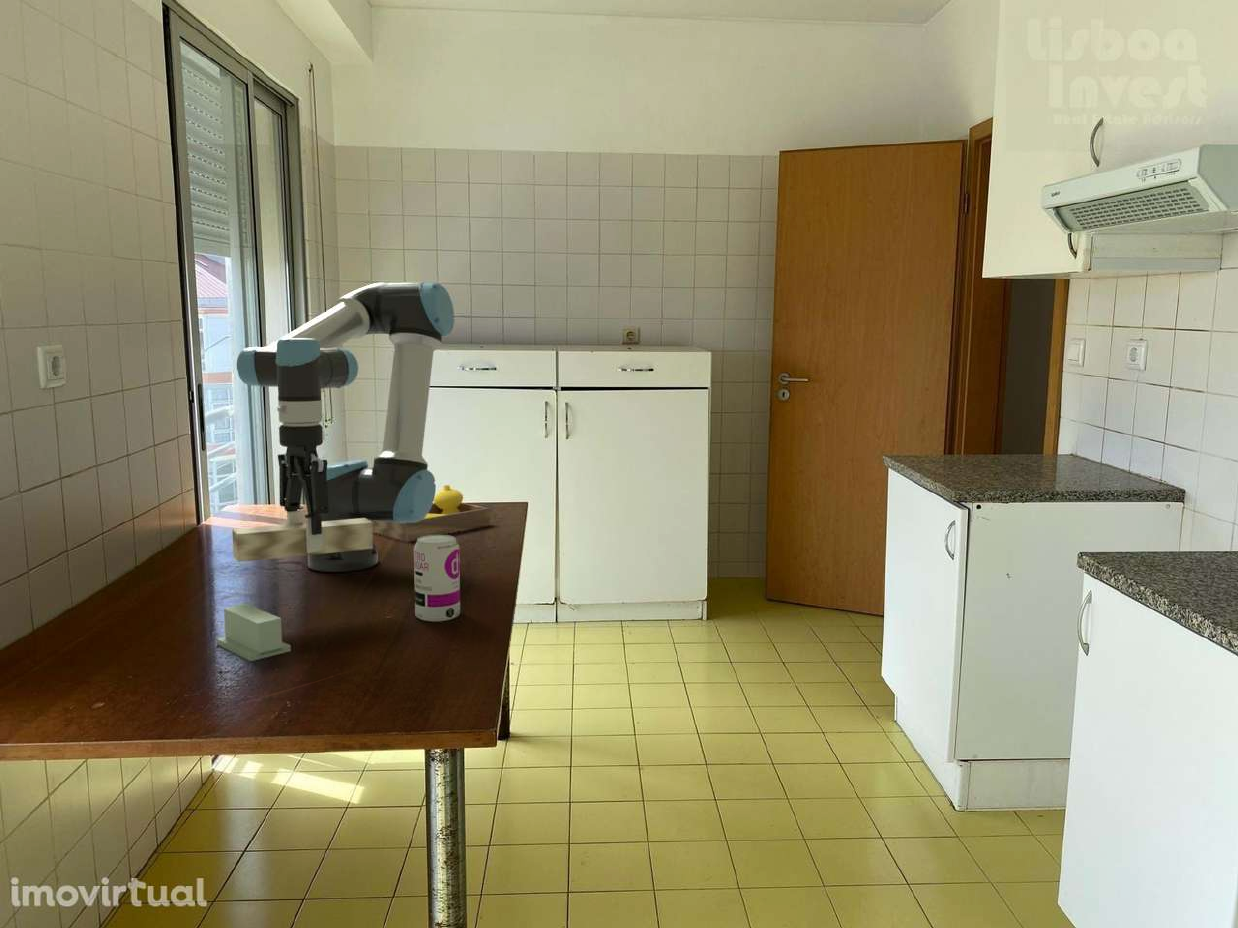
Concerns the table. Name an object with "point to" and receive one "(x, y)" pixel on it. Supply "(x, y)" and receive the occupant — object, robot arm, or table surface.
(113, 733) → the table surface
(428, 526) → the tray
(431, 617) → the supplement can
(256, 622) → the stepped block
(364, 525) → the beam
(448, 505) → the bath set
